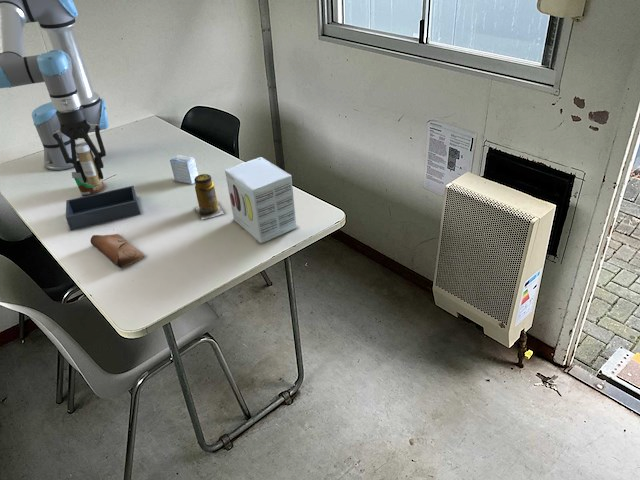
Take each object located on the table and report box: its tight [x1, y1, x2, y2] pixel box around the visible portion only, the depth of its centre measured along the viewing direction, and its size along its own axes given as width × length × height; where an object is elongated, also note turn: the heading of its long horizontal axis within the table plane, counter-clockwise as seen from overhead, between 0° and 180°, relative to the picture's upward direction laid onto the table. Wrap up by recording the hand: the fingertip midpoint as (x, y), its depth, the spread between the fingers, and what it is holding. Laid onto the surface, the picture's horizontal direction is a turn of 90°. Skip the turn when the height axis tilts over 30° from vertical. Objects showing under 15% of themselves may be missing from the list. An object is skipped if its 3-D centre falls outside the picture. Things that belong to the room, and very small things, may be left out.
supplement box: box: [224, 156, 298, 244], centre depth 152 cm, size 17×13×18 cm
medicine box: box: [169, 154, 199, 185], centre depth 183 cm, size 8×4×9 cm, turn 65°
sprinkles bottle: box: [75, 141, 103, 186], centre depth 159 cm, size 5×5×13 cm
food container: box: [71, 159, 105, 197], centre depth 180 cm, size 12×6×10 cm, turn 168°
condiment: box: [194, 173, 225, 220], centre depth 163 cm, size 7×8×12 cm
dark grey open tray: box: [65, 185, 141, 231], centre depth 168 cm, size 12×22×5 cm, turn 112°
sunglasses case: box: [90, 233, 145, 269], centre depth 149 cm, size 18×7×7 cm
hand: (93, 178), depth 162 cm, fingers closed on sprinkles bottle, 4 cm apart
